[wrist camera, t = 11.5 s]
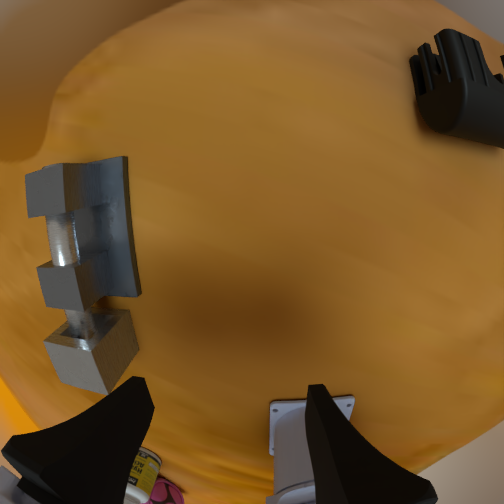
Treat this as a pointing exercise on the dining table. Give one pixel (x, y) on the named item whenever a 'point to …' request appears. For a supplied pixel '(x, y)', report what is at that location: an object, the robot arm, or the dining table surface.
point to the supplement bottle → (142, 477)
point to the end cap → (459, 89)
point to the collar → (95, 351)
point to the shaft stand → (85, 237)
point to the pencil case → (165, 493)
